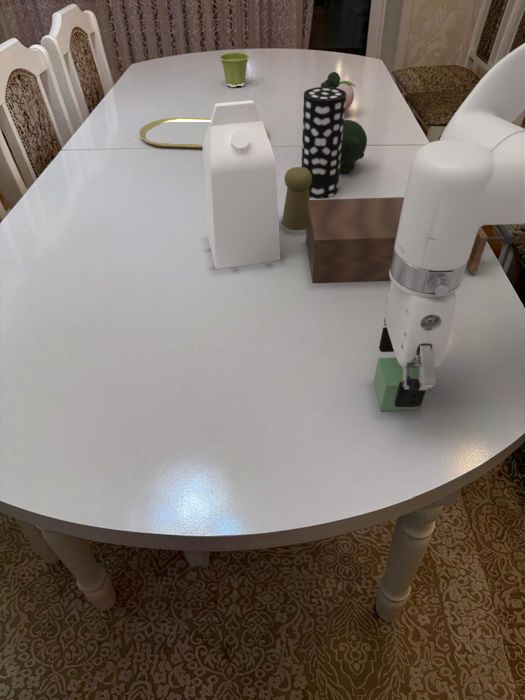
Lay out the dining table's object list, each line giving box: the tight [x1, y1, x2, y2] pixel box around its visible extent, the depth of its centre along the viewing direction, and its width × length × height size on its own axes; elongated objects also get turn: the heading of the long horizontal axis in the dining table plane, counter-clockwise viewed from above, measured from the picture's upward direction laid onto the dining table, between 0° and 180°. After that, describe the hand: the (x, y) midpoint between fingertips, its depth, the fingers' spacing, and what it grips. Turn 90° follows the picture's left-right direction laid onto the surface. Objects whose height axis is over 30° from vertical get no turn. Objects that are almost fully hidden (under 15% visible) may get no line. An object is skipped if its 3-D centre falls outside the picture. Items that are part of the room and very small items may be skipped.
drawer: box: [466, 224, 516, 273], centre depth 88 cm, size 23×12×7 cm, turn 91°
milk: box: [202, 99, 281, 270], centre depth 86 cm, size 12×12×26 cm
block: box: [373, 356, 420, 412], centre depth 66 cm, size 5×5×5 cm
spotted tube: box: [300, 86, 346, 199], centre depth 104 cm, size 8×8×20 cm
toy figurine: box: [320, 71, 368, 174], centre depth 116 cm, size 9×19×25 cm
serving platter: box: [138, 116, 269, 149], centre depth 134 cm, size 19×35×2 cm, turn 82°
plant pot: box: [219, 52, 250, 89], centre depth 164 cm, size 9×9×9 cm
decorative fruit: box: [337, 80, 356, 112], centre depth 141 cm, size 9×8×10 cm
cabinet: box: [305, 196, 404, 284], centre depth 88 cm, size 18×14×9 cm
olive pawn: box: [281, 166, 312, 231], centre depth 97 cm, size 6×6×11 cm
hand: (398, 376), depth 64 cm, fingers open, 9 cm apart
